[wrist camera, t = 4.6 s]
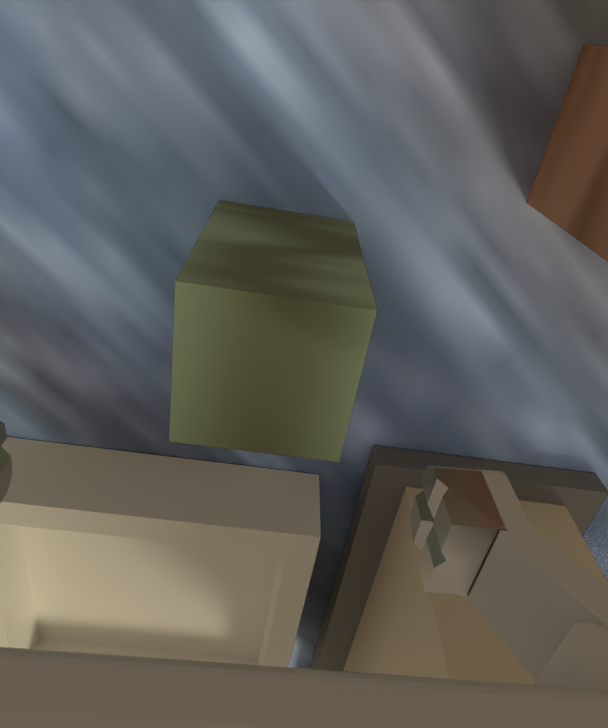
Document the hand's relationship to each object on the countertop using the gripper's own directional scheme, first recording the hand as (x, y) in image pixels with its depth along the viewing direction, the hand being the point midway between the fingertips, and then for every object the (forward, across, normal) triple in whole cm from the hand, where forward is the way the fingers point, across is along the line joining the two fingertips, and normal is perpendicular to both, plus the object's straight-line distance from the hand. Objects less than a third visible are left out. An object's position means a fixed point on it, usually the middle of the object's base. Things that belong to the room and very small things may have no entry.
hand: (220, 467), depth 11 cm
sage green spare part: (+10, -1, 0) cm, 10 cm away
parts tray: (+10, +3, +16) cm, 19 cm away
